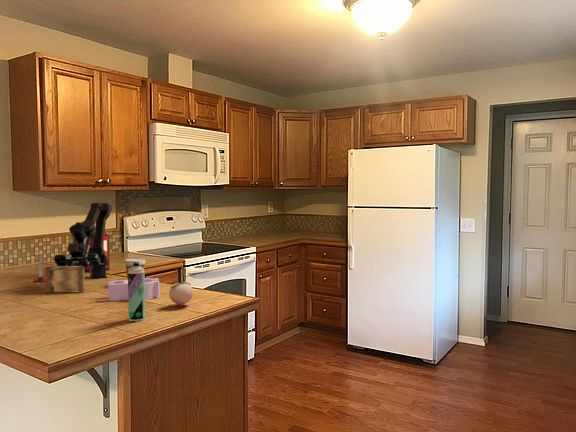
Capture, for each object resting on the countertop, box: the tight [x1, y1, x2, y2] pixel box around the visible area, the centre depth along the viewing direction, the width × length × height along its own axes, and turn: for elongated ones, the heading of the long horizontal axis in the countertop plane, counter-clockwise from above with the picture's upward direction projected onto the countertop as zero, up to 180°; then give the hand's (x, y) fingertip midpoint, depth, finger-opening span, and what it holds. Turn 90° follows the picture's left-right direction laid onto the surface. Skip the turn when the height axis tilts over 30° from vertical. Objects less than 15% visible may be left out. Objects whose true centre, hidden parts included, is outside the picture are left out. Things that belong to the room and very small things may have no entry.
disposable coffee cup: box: [124, 257, 147, 280], centre depth 219 cm, size 10×10×12 cm
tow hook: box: [33, 255, 54, 283], centre depth 230 cm, size 8×13×9 cm
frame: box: [44, 265, 86, 294], centre depth 203 cm, size 16×2×11 cm, turn 93°
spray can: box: [127, 262, 146, 322], centre depth 161 cm, size 6×6×20 cm
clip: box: [107, 277, 161, 302], centre depth 194 cm, size 20×12×7 cm, turn 109°
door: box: [52, 270, 78, 293], centre depth 204 cm, size 11×2×10 cm, turn 99°
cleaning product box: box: [72, 233, 110, 273], centre depth 257 cm, size 16×9×20 cm, turn 69°
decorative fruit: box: [168, 280, 194, 306], centre depth 180 cm, size 9×8×10 cm
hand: (73, 275), depth 204 cm, fingers closed
